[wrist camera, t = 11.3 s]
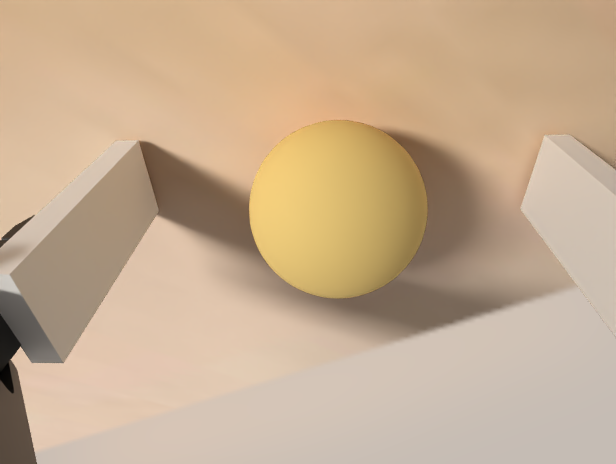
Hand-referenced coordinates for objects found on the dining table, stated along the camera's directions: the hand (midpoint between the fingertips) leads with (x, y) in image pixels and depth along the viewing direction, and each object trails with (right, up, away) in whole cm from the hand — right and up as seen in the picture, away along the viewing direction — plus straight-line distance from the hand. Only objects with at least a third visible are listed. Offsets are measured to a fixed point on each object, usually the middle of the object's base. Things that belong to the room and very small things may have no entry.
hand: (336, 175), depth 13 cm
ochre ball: (0, -1, -2) cm, 2 cm away
